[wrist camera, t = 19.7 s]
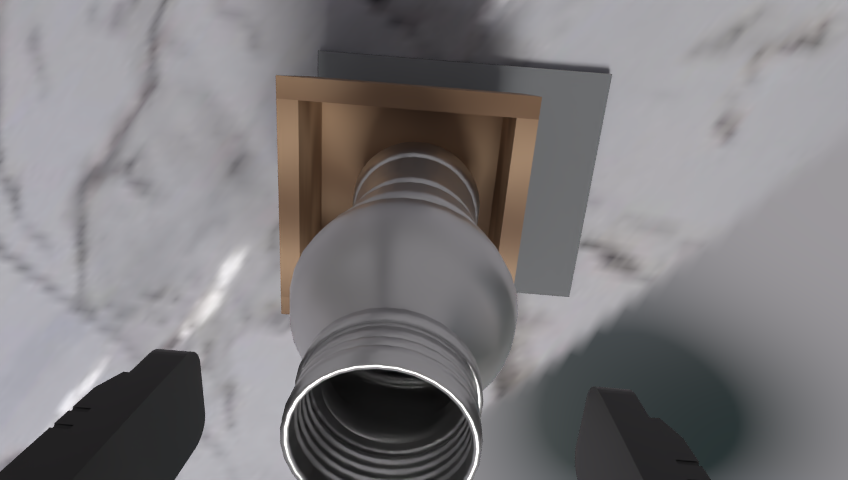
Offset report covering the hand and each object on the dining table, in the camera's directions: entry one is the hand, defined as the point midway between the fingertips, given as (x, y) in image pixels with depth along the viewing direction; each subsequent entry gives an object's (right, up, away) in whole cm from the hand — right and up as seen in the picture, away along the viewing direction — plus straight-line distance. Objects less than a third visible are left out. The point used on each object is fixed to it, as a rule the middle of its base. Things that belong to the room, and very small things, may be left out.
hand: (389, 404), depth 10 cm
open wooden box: (0, +7, +22) cm, 23 cm away
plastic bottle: (0, +6, +18) cm, 19 cm away
